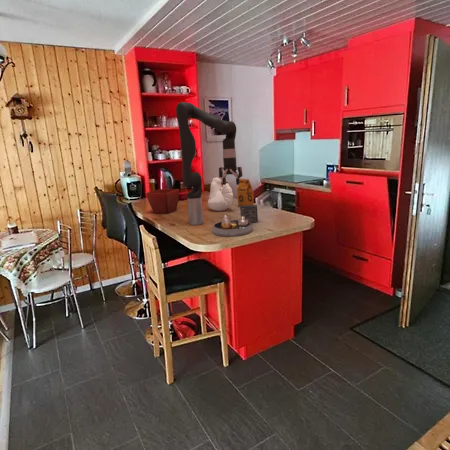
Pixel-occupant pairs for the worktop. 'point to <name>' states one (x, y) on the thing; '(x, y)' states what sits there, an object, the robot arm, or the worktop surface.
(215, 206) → the decorative rooster
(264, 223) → the worktop surface
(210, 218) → the worktop surface
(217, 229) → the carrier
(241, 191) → the coffee package
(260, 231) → the worktop surface
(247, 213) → the small box
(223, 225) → the planet gear
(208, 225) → the worktop surface
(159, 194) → the plant pot
